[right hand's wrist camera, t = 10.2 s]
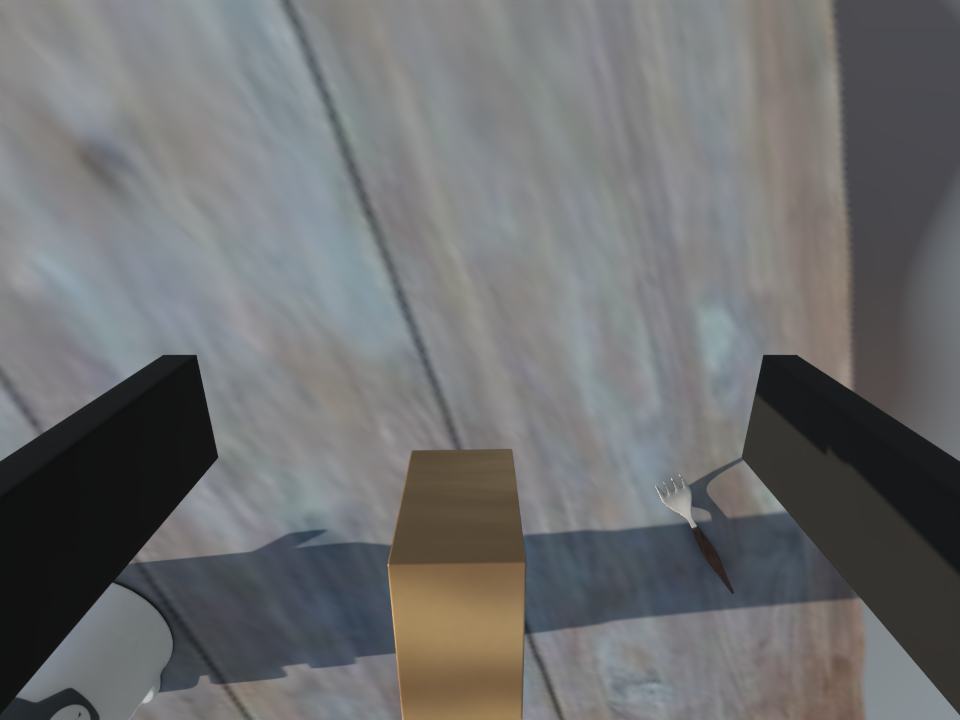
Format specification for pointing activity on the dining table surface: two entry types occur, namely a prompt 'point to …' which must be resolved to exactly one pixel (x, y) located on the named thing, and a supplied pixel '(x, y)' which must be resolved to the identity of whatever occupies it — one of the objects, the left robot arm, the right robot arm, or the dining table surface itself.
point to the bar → (459, 587)
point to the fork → (692, 523)
